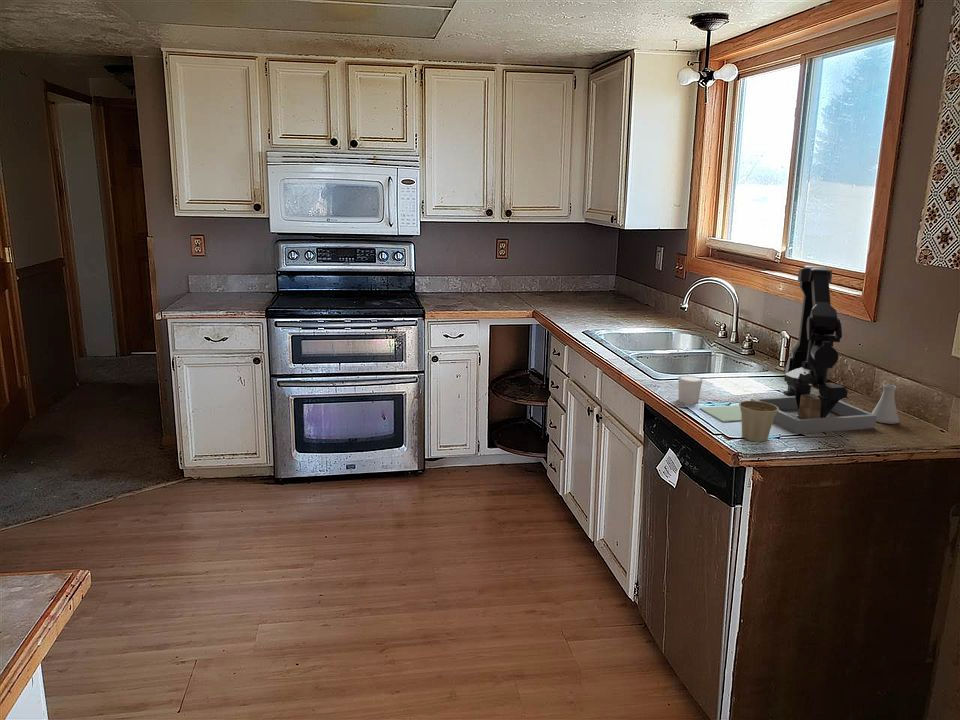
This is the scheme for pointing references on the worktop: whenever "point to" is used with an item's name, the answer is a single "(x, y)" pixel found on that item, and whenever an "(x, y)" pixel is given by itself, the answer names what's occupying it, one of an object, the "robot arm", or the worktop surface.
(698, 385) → the shot glass
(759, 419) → the flower pot
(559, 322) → the worktop surface
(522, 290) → the worktop surface
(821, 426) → the grey rimmed tray
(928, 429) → the worktop surface
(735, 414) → the mat
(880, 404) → the flask
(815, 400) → the walnut block
